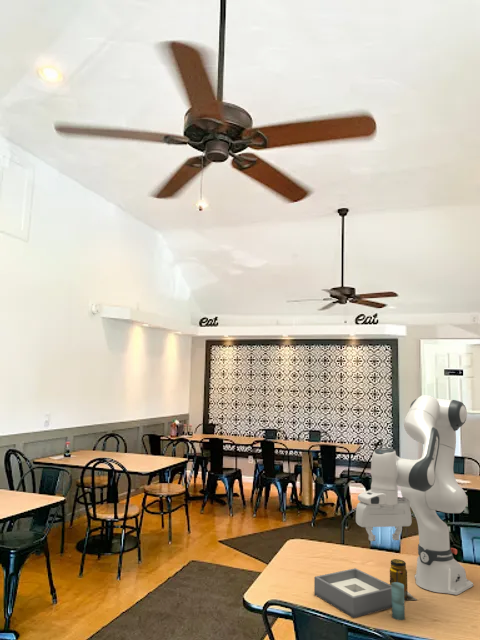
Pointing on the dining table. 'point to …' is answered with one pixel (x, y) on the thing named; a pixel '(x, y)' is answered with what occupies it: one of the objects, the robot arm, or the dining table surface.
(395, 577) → the condiment
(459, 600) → the dining table surface
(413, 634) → the dining table surface
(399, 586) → the peg
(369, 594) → the socket box
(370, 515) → the robot arm
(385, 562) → the dining table surface
